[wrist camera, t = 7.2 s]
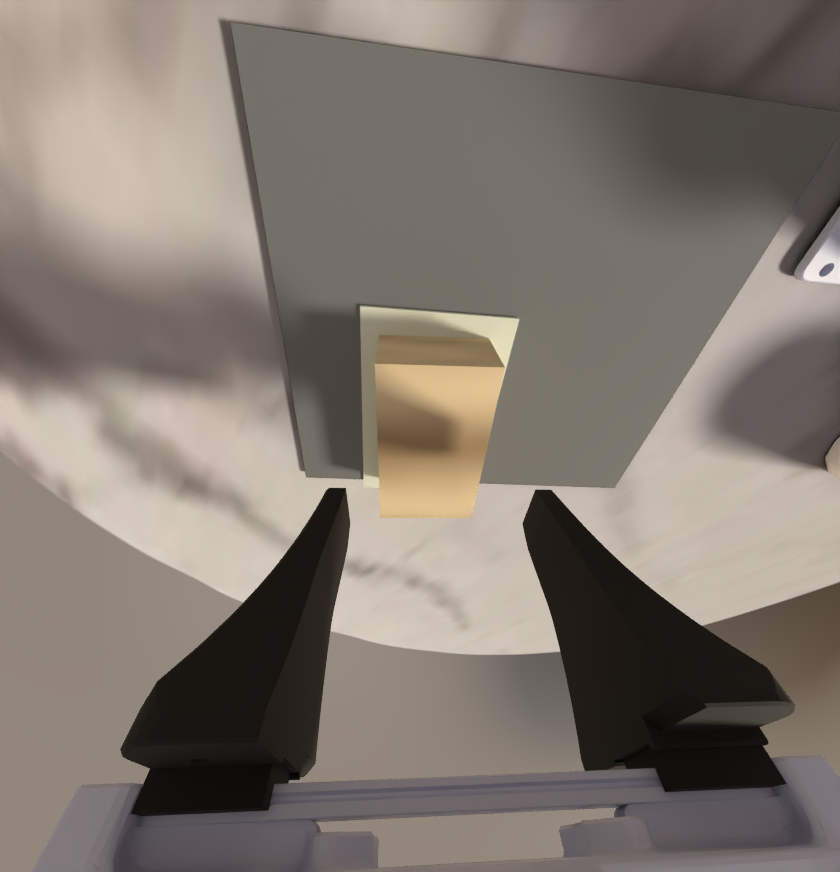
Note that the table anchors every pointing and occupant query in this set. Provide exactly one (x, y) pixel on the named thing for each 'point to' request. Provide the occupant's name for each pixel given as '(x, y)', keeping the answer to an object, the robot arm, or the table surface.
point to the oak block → (433, 422)
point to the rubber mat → (507, 236)
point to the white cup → (834, 459)
